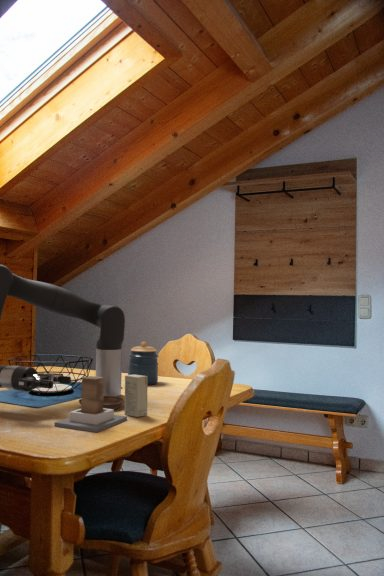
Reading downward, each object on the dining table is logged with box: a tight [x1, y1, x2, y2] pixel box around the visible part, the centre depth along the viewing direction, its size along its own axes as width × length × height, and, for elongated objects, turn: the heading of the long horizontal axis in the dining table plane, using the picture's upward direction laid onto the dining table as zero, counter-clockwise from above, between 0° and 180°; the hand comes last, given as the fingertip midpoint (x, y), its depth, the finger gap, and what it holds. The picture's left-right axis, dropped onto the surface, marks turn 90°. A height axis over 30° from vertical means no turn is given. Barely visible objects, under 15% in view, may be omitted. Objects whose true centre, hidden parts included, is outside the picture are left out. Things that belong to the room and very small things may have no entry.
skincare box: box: [124, 374, 148, 418], centre depth 159 cm, size 6×4×12 cm
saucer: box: [78, 396, 125, 411], centre depth 168 cm, size 15×15×3 cm
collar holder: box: [53, 408, 128, 433], centre depth 147 cm, size 16×14×4 cm
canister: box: [127, 341, 159, 386], centre depth 218 cm, size 13×13×18 cm
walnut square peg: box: [80, 375, 104, 414], centre depth 147 cm, size 4×4×12 cm
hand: (61, 382), depth 152 cm, fingers open, 8 cm apart
